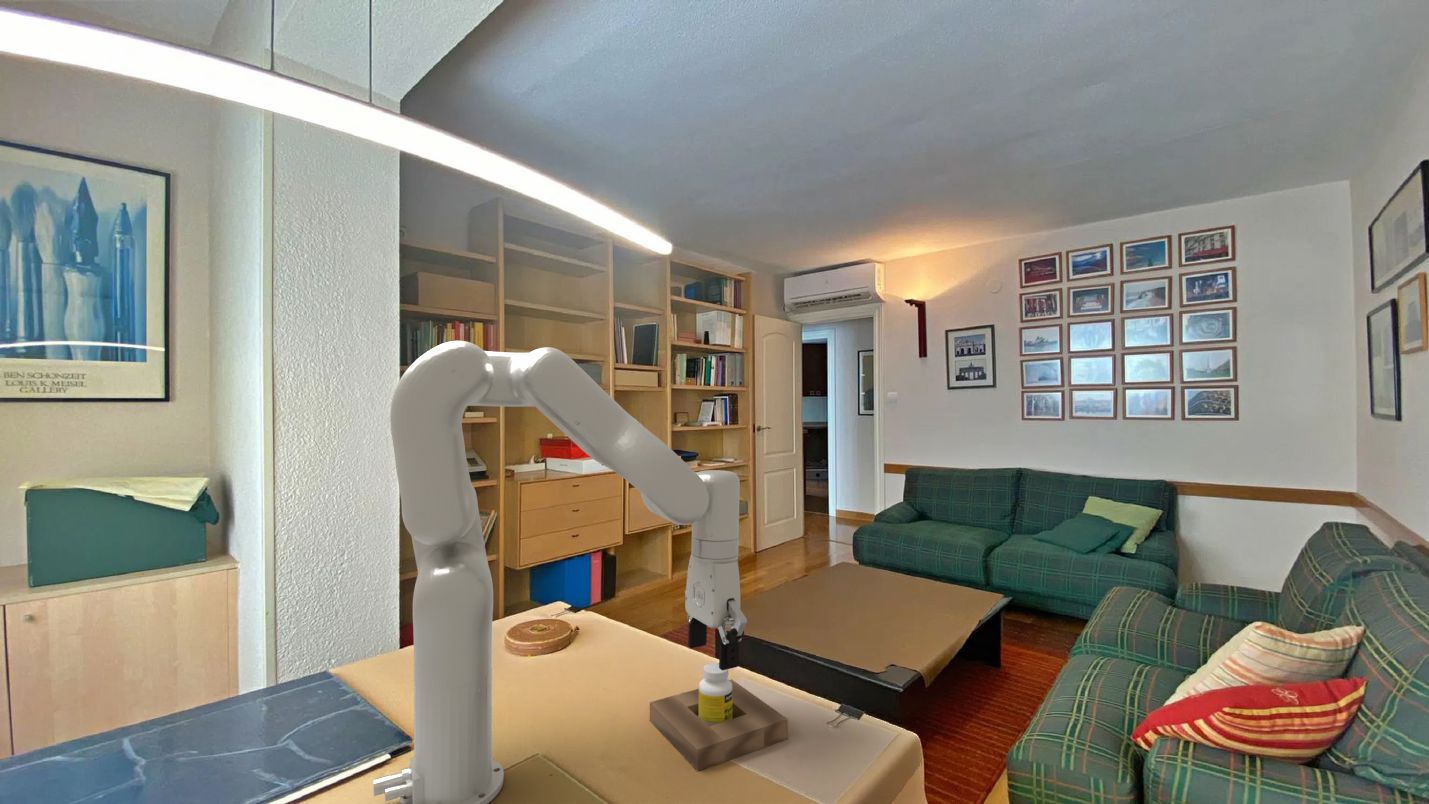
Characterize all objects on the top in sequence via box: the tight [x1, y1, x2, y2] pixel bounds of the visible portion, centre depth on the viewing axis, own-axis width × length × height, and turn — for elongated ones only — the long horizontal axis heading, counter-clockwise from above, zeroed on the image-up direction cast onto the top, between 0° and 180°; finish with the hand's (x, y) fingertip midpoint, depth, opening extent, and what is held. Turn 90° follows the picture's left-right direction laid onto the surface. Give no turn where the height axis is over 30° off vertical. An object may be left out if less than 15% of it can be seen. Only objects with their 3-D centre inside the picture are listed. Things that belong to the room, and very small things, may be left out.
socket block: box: [649, 679, 789, 772], centre depth 94 cm, size 16×16×3 cm
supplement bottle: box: [698, 662, 732, 726], centre depth 94 cm, size 5×5×10 cm
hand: (712, 656), depth 94 cm, fingers open, 9 cm apart
